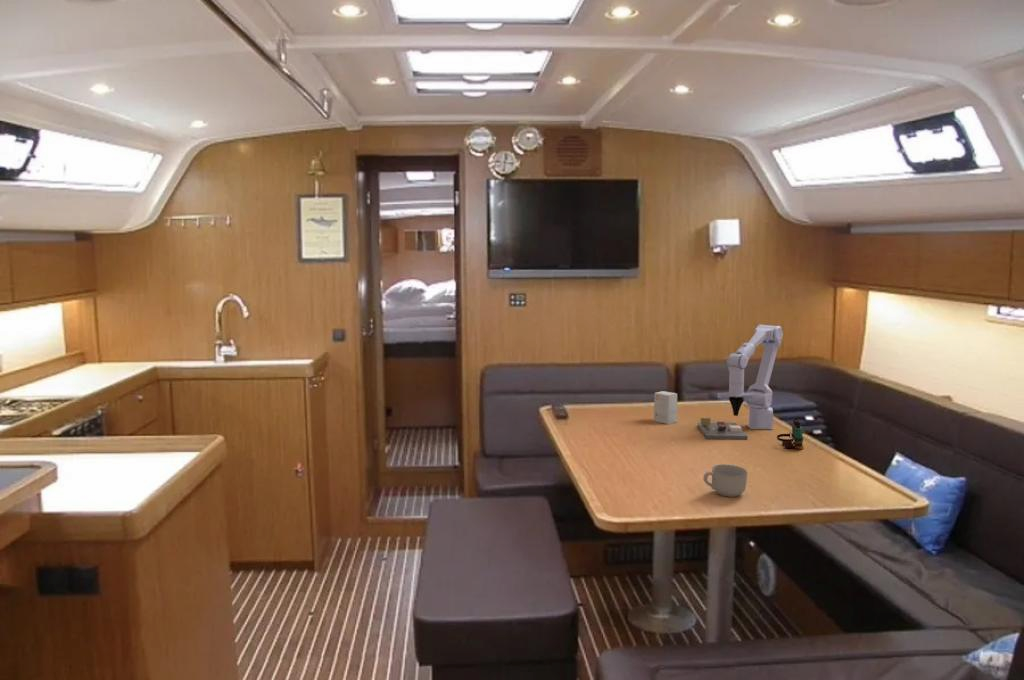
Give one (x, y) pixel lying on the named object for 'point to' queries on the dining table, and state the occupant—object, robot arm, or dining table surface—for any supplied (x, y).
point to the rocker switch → (721, 425)
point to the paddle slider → (704, 420)
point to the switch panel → (721, 432)
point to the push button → (735, 428)
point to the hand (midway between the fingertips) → (735, 415)
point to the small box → (665, 407)
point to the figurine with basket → (793, 436)
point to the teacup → (727, 479)
